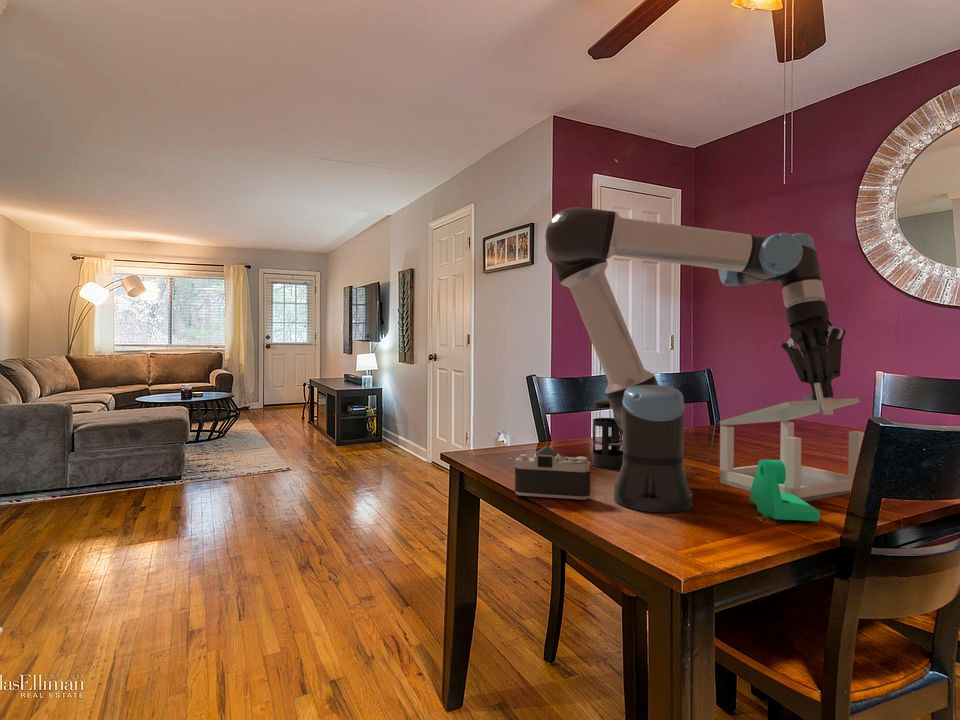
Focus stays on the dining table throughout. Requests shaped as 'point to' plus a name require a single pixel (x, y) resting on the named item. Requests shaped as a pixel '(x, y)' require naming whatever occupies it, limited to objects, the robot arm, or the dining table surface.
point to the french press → (607, 440)
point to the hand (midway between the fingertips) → (826, 414)
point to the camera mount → (778, 494)
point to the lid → (786, 411)
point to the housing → (791, 467)
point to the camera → (552, 475)
